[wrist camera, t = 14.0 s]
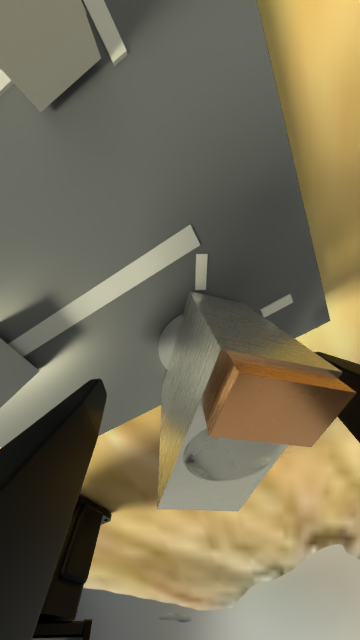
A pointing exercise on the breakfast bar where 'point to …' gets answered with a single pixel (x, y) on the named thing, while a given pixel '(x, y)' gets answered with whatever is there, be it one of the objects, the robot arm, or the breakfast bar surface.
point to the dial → (236, 404)
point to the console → (147, 204)
